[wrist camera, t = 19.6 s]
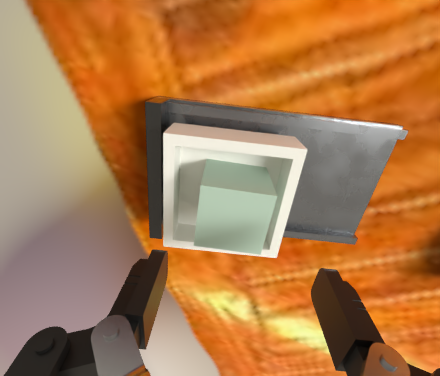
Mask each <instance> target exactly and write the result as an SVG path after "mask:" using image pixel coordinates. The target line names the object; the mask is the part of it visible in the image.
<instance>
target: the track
mask: <svg viewBox="0 0 440 376" xmlns="http://www.w3.org/2000/svg"><path fill="white" fill-rule="evenodd" d="M145 113H146V142H147V171H148V200H149V230H150V238H158V239H162V237H163V133H164V132H165V131H166V130H167V129H168V128H169V127H170V126H171V125H172V124H173V123H182V124H195V125H201V126H208V127H216V128H225V129H234V130H242V131H251V132H260V133H273V134H278V135H286V136H294V137H296V138H297V139H298V140H299V141H300V142H301V143H302V144H303V145H304V146H305V147H306V148H307V149H308V150H307V153H306V157H305V160H304V164H303V167H302V171H301V174H300V178H299V181H298V185H297V188H296V192H295V195H294V199H293V202H292V206H291V209H290V213H289V216H288V220H287V223H286V227H285V230H284V234H283V237H290V238H300V239H309V240H318V241H328V242H337V243H347V244H355V243H356V241H357V239H358V238H357V237H356V236H355V235H354V233H355V231H356V229H357V227H358V225H359V222H360V220H361V218H362V216H363V214H364V211H365V209H366V207H367V205H368V203H369V200H370V198H371V196H372V194H373V192H374V190H375V187H376V185H377V183H378V181H379V179H380V176H381V174H382V172H383V170H384V168H385V165H386V163H387V161H388V159H389V157H390V155H391V152H392V150H393V148H394V146H395V144H396V141H397V139H401V140H404V139H405V137H406V135H407V133H408V130H405V129H402V128H403V126H401V125H398V124H391V123H383V122H374V121H366V120H357V119H349V118H341V117H332V116H324V115H315V114H307V113H298V112H290V111H281V110H273V109H264V108H256V107H247V106H239V105H230V104H222V103H213V102H205V101H197V100H188V99H180V98H171V97H163V96H158V97H155V98H153V99H150V100H148V101H145Z"/></svg>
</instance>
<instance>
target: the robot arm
mask: <svg viewBox="0 0 440 376" xmlns="http://www.w3.org/2000/svg"><path fill="white" fill-rule="evenodd" d="M167 273H168V253H167V251H163V250H152V251H151V254H150V256H149V258H148V259H140V260H139V261H138V262H137V263H135V264H134V265H133V267H132V269H131V271H130V273H129V275H128V277H127V279H126V281H125V284H124V285H123V287H122V289H121V291H120V293H119V295H118V297H117V299H116V301H115V303H114V305H113V307H112V309H111V311H110V313H109V314H108V316H107V317H106V318H104V319H103V320H101V321H100V322H99V323H98V324H97V325H96V326H94V327H92V328H89V329H86V330H81V331H76V332H72V333H66V331H65V330H64V329H63V328H61V327H49V328H46V329H43V330H41V331H40V332H38V333H36V334H35V335H33V336H32V337H31V338H30V339H29V340H28V341H27V342H26V344H25V345H24V347H23V348H22V350H21V351H20V352H19V354H18V355H17V357H16V358H15V360H14V361H13V363H12V364H11V366H10V367H9V369H8V371H7V372H6V373H5V375H4V376H150V373H149V371H148V370H147V369H146V368H145V365H144V363H143V360H142V357H141V354H140V351H139V349H146V347H147V344H148V340H149V337H150V334H151V330H152V327H153V324H154V321H155V317H156V314H157V311H158V307H159V304H160V301H161V298H162V294H163V291H164V288H165V284H166V280H167ZM311 298H312V302H313V305H314V308H315V310H316V313H317V316H318V319H319V322H320V325H321V328H322V331H323V334H324V337H325V340H326V343H327V346H328V349H329V351H330V354H331V357H332V360H333V363H334V366H335V369H336V371H346V373H347V376H440V368H439V369H436V370H435V371H434V372H433V373H432V374H431V373H429V372H426V371H424V370H422V369H419V368H417V367H414V366H412V365H410V364H408V363H406V361H405V360H404V358H403V357H402V356H401V355H400V354H399V353H398V352H397V351H396V350H394V349H393V348H392V347H390V346H388V345H386V344H385V343H384V341H383V339H382V337H381V335H380V334H379V332H378V330H377V328H376V326H375V325H374V323H373V321H372V319H371V317H370V315H369V314H368V312H367V311H366V308H365V306H364V305H363V303H362V302H361V299H360V297H359V295H358V294H357V292H356V290H355V289H354V288H353V287H352V286H351V285H350V284H349V283H348V282H346V281H343V280H342V278H341V276H340V274H339V272H338V271H337V270H333V269H324V268H321V269H320V270H319V272H318V274H317V276H316V279H315V281H314V284H313V286H312V289H311Z"/></svg>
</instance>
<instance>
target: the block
mask: <svg viewBox="0 0 440 376" xmlns="http://www.w3.org/2000/svg"><path fill="white" fill-rule="evenodd" d="M277 197H278V196H277V193H276V191H275V188H274V186H273V183H272V181H271V178H270V176H269V173H268V170H267V168H266V167H261V166H254V165H247V164H240V163H233V162H226V161H220V160H213V159H207V160H206V165H205V169H204V173H203V178H202V182H201V187H200V195H199V204H198V212H197V221H196V229H195V237H194V246H199V247H206V248H214V249H222V250H229V251H237V252H244V253H252V254H260V255H261V251H262V248H263V245H264V241H265V238H266V234H267V231H268V227H269V224H270V221H271V217H272V214H273V210H274V207H275V203H276V200H277Z"/></svg>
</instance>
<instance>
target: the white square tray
mask: <svg viewBox="0 0 440 376" xmlns="http://www.w3.org/2000/svg"><path fill="white" fill-rule="evenodd" d="M307 150H308V149H307V148H306V147H305V146H304V145H303V144H302V143H301V142H300V141H299V140H298V139H297V138H296V137H294V136H286V135H278V134H273V133H260V132H251V131H242V130H234V129H225V128H216V127H208V126H201V125H195V124H182V123H173V124H172V125H171V126H170V127H169V128H168V129H167V130H166V131H165V132H164V133H163V246H165V247H175V248H185V249H194V250H204V251H213V252H223V253H233V254H242V255H252V256H262V257H271V258H277V254H278V251H279V247H280V244H281V240H282V237H283V234H284V230H285V227H286V223H287V220H288V216H289V213H290V209H291V206H292V202H293V199H294V195H295V192H296V188H297V185H298V181H299V178H300V174H301V171H302V167H303V164H304V160H305V157H306V153H307ZM207 159H213V160H220V161H226V162H233V163H240V164H247V165H254V166H261V167H266V168H267V170H268V173H269V176H270V178H271V181H272V183H273V186H274V188H275V191H276V193H277V196H278V197H277V200H276V203H275V207H274V210H273V214H272V217H271V221H270V224H269V227H268V231H267V234H266V238H265V241H264V245H263V248H262V251H261V255H260V254H252V253H244V252H237V251H229V250H222V249H214V248H206V247H199V246H194V237H195V229H196V221H197V212H198V204H199V195H200V187H201V182H202V178H203V173H204V169H205V165H206V160H207Z"/></svg>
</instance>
